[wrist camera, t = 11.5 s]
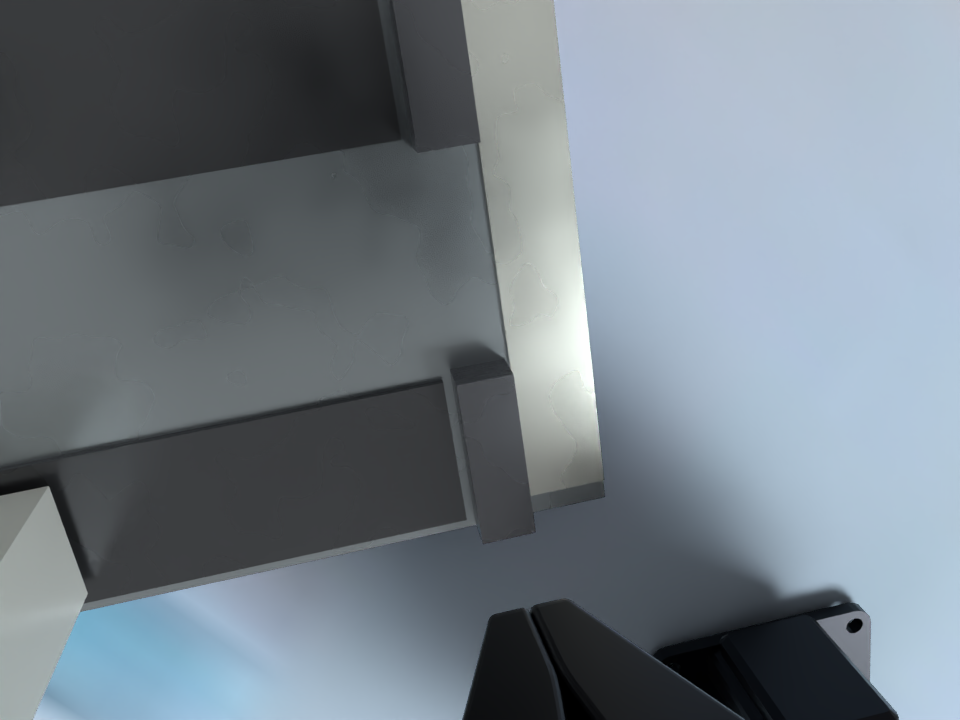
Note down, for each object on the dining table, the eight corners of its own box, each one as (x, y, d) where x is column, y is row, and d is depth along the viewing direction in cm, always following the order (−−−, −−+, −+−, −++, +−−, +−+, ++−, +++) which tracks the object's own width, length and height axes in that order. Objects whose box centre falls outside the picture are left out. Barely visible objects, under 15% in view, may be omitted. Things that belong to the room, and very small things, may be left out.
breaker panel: (581, 459, 22) (618, 518, 19) (-208, 628, 20) (-293, 720, 17) (456, -627, 15) (486, -787, 12) (-812, -542, 13) (-1130, -710, 10)
